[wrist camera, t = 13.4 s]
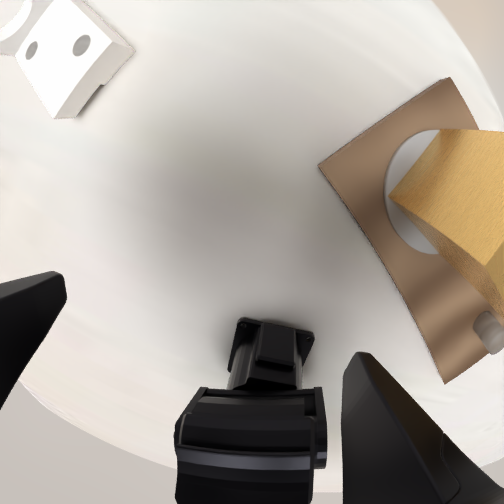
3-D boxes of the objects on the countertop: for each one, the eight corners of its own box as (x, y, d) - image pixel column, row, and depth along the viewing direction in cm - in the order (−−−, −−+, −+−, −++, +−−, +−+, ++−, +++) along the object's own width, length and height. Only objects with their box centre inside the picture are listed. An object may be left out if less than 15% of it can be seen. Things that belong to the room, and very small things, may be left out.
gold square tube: (486, 193, 14) (587, 245, 5) (439, 254, 16) (522, 342, 7) (440, 128, 13) (559, 140, 4) (387, 196, 15) (484, 266, 6)
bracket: (32, 48, 15) (-21, 42, 8) (74, -7, 13) (24, -26, 6) (82, 118, 18) (14, 122, 11) (137, 52, 16) (75, 27, 9)
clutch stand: (518, 313, 19) (545, 345, 14) (440, 375, 23) (458, 415, 18) (440, 79, 14) (488, 67, 8) (317, 165, 17) (332, 177, 12)
